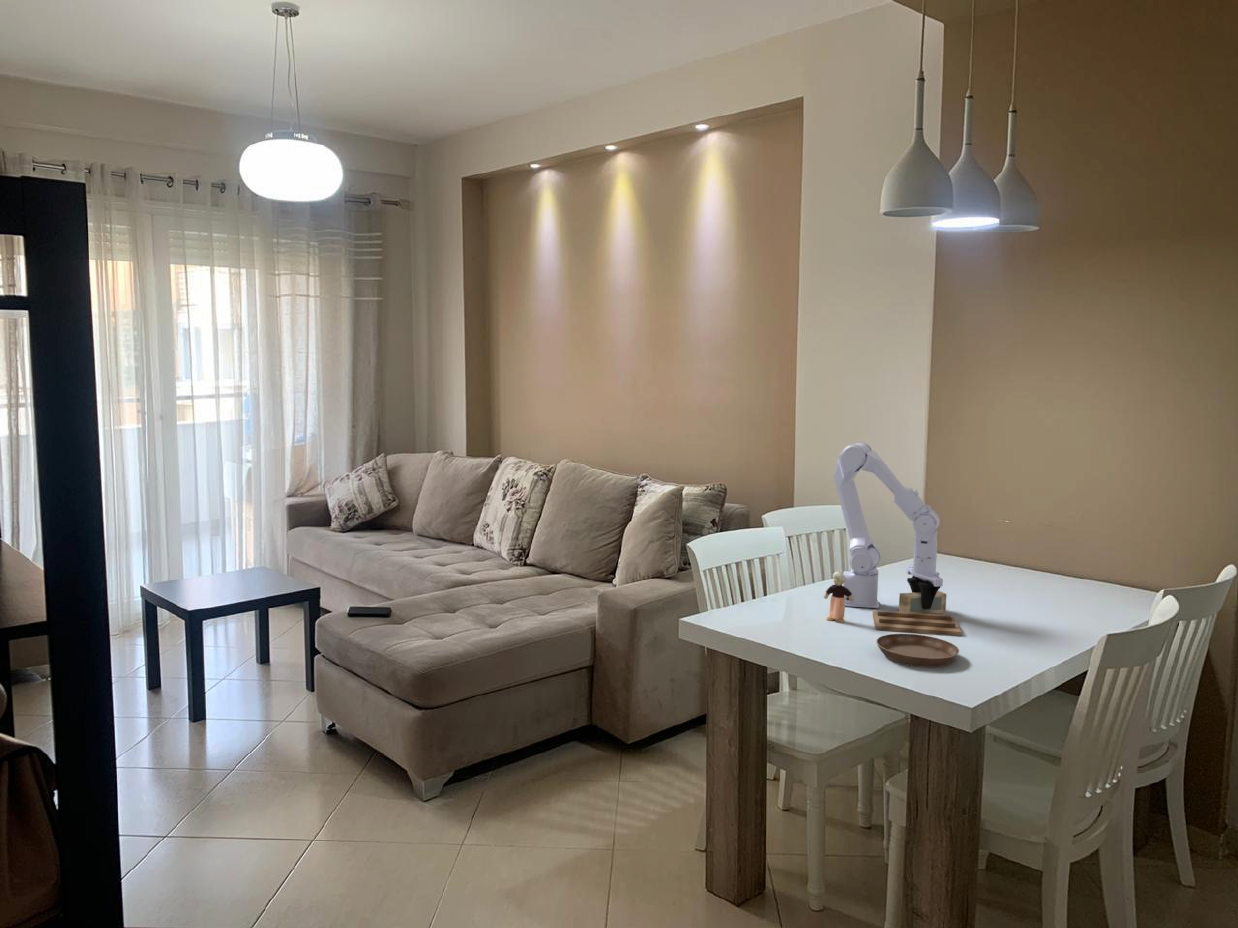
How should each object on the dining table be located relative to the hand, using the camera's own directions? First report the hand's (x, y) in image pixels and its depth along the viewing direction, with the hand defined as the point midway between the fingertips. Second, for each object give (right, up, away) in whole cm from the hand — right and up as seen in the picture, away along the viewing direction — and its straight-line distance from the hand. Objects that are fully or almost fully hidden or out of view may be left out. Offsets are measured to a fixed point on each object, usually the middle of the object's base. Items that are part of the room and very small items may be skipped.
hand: (922, 606), depth 241 cm
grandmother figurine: (-25, -2, -9) cm, 26 cm away
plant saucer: (-14, -6, -36) cm, 39 cm away
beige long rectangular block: (0, -1, 0) cm, 1 cm away
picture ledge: (-6, -3, -12) cm, 13 cm away
